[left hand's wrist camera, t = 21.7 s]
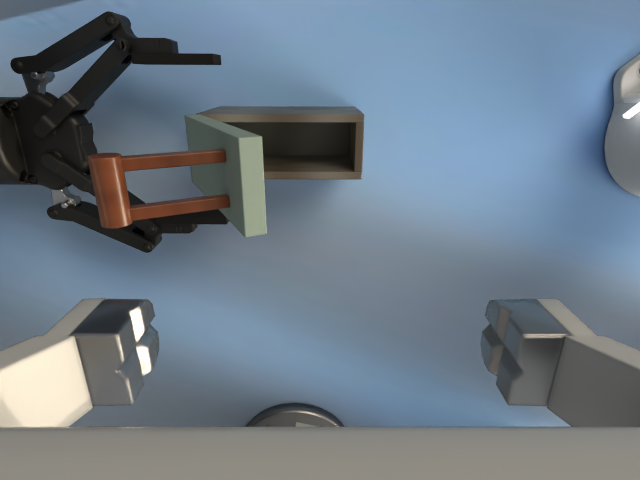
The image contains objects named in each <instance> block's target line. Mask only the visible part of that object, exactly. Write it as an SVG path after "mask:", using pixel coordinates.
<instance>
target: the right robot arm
mask: <svg viewBox="0 0 640 480" xmlns="http://www.w3.org/2000/svg"><path fill="white" fill-rule="evenodd" d="M112 40H114V42H113V43H112V44H111V46H110V47H109V48H108V49H107V50H106V51H105V52H104V53H103V54H102V55H101V57H100V58H99V59H98V60H97V61H96V62H95V63H94V64H93V65H92V66H91V68H90V69H89V70H88V71H87V72H86V73H85V74H84V75H83V76H82V77H81V78H80V80H79V81H78V82H77V83H76V84H75V85H74V86H73V87H72V88H71V89H70V91H69V92H67V93H66V94H64V95H62V96H61V97H60V98H59V99H58V98H57V97H55V96H54V95H52V94H51V93H48V92H46V85H47V84H48V83H50V82H51V81H52V80H53V78H54V77H55V74H54V73H53V72H58V71H61V70H63V69H65V68H67V67H69V66H71V65H72V64H74V63H76V62H77V61H79V60H81V59H82V58H84V57H86V56H87V55H89V54H91V53H92V52H94V51H96V50H97V49H99V48H101V47H102V46H104V45H106V44H107V43H109V42H111V41H112ZM131 63H132V64H151V65H221V56H220V55H216V54H179V53H178V44H177V42H176V41H173V40H171V39H167V38H137V37H136V36H135V35H134V33H133V31H132V29H131V23H130V20H129V19H128V18H127V17H125V16H123V15H119V14H116V13H113V12H105V13H103V14H102V15H100V16H99V17H97V18H95V19H94V20H92V21H90V22H89V23H87V24H86V25H84V26H82V27H81V28H79V29H77V30H76V31H74V32H73V33H71V34H69V35H68V36H66V37H64V38H63V39H61V40H60V41H58V42H56V43H55V44H53V45H52V46H50V47H48V48H47V49H45V50H43V51H42V52H40V53H39V54H37V55H34V56H26V57H18V58H14V59H12V60H11V68H12V69H13V71H15V72H16V73H18V74H22V76H23V79H24V82H25V85H26V88H27V91H28V94H26V95H25V96H23V97H0V184H20V185H43V186H45V187H48V188H50V189H51V193H52V201H53V206H51V207H49V208H48V210H47V214H48V215H49V217H51V218H52V219H58V220H67V221H74V222H76V223H78V224H81V225H83V226H85V227H88V228H90V229H92V230H95V231H97V232H99V233H101V234H104V235H106V236H108V237H111V238H113V239H115V240H118V241H120V242H122V243H125V244H127V245H129V246H132V247H134V248H136V249H139V250H141V251H143V252H146V253H148V252H151V251H152V250H153V249H154V248H155V247H156V246H157V245H158V244H159V243H160V242H161V240H162V237H161V235H162V233H191V232H193V231H194V230H195V229H196V228H197V224H227V223H228V222H229V220H228V219H227V218H226V217H225V216H224V215H223V213H222V212H221V211H220V210H219V209H215V210H208V211H201V212H193V213H186V214H179V215H171V216H164V217H157V218H149V219H142V220H135V221H133V222H132V224H130V225H128V226H125V227H121V228H104V227H102V226H101V222H100V217H99V212H98V208H97V206H96V205H94V204H91V203H88V202H84V201H81V198H80V197H79V196H76V195H73V194H71V193H70V192H69V191H68V188H67V187H68V186H70V185H72V184H73V185H74V186H76V187H77V188H78V189H80V190H82V191H85V192H89V193H91V194H92V195H93V196H95V193H94V188H93V183H92V178H91V173H90V169H89V164H88V159H87V157H88V156H90V155H93V154H97V149H96V147H95V145H94V142H93V128H92V123H89V122H88V120H87V119H86V118H85V117H84V115H85V114H86V113H87V112H88V111H89V110H90V109H91V108H92V107H93V106H94V102H95V101H96V100H97V99H98V98H99V97H100V96H101V95H102V94H103V93H104V91H105V90H106V89H107V88H108V87H109V86H110V85H111V84H112V83H113V82H114V81H115V80H116V79H117V78H118V77H119V76H120V74H121V73H122V72H123V71H124V70H125V69H126V68H127V67H128V66H129V65H130V64H131ZM85 174H86V175H85ZM127 191H128V190H127ZM128 197H129V202H130V206H131V205H139V204H146V203H144V202H143V201H142V200H140V199H139V198H137V197H136V196H135V195H133V194H132V193H131V192H129V191H128ZM247 427H344V425H343V424H342V423H341V422H340V421H339V420H338V419H337V418H336V417H335V416H334V415H332V414H331V413H329V412H327V411H326V410H323V409H321V408H319V407H316V406H312V405H307V404H298V403H292V404H282V405H278V406H274V407H271V408H269V409H267V410H264V411H263V412H261V413H259V414H258V415H257V416H255V417H254V418H253V419H252V420H251V421H250V423H249V424H248V425H247Z"/></svg>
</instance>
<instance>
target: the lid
mask: <svg viewBox="0 0 640 480" xmlns="http://www.w3.org/2000/svg"><path fill="white" fill-rule="evenodd" d="M185 123H186V132H187V140H188V149H189V151H185V152H171V153H158V154H144V155H131V156H121V154H118V153H100V154H93V155H90V156H88V157H87V159H88V164H89V169H90V173H91V178H92V183H93V188H94V193H95V198H96V203H97V208H98V212H99V217H100V222H101V226H102V227H104V228H121V227H125V226H128V225H130V224H132V222H133V221H135V220H142V219H149V218H157V217H164V216H171V215H179V214H186V213H193V212H201V211H208V210H215V209H219V210H220V211H221V212H222V213H223V215H224V216H225V217H226V218H227V219H228V220H229V221H230V222H231V223H232V224H233V225H234V226H235V227H236V228H237V229H238V230H239V231H240V232H241V233H242V234H243V236H244V237H252V236H258V235H263V234H267V227H266V207H265V187H264V166H263V146H262V136H259V135H256V134H254V133H251V132H248V131H245V130H242V129H240V128H237V127H234V126H231V125H228V124H226V123H223V122H220V121H217V120H214V119H212V118H209V117H206V116H203V115H200V114H198V115H185ZM180 166H191V175H192V182H193V183H194V184H195V185H196V186H197V187H198V188H199V189H200V190H201V191H202V192H203V193H204V195H205V197H196V198H188V199H180V200H172V201H164V202H155V203H147V204H139V205H131V206H130V202H129V197H128V191H127V185H126V179H125V174H124V171H135V170H146V169H157V168H168V167H180Z"/></svg>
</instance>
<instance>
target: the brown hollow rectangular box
mask: <svg viewBox="0 0 640 480" xmlns="http://www.w3.org/2000/svg"><path fill="white" fill-rule="evenodd" d="M198 114H200V115H203V116H206V117H209V118H212V119H214V120H217V121H220V122H223V123H226V124H228V125H231V126H234V127H237V128H240V129H242V130H245V131H248V132H251V133H254V134H256V135H259V136H262V146H263V166H264V179H362V160H363V134H364V114H363V113H362V112H361V111H360V110H358V109H357V108H356V107H217V108H214V109H210V110H207V111H204V112H201V113H197V114H196V115H198Z"/></svg>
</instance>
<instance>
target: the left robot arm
mask: <svg viewBox="0 0 640 480" xmlns="http://www.w3.org/2000/svg"><path fill="white" fill-rule="evenodd" d="M639 68H640V54H639V55H637V56H636V57H635V58H633V59H632V60H631V61H629V62H628V63H627V64H625V65H624V66H623V67H621V68H620V69H619V70H618V71H617V73H616V75H615V77H614V82H613V96H614V108H613V112H612V115H611V118H610V121H609V124H608V127H607V131H606V136H605V146H604V150H605V159H606V164H607V167H608V170H609V172H610V174H611V176H612V177H613V179H614V180H615V182H616V183H617V184H618V185H619V186H620V187H621V188H623V189H624V190H625V191H627V192H629V193H631V194H633V195H635V196H638V197H640V74H639ZM154 317H155V314H154V309H153V304H152V303H151V302H150V301H149V300H141V299H105V298H103V299H83V300H81V301H80V302H79V303H78V304H77V305H76V306H75V307H74V308H73V309H72V310H71V311H69V312H68V313H67V314H66V315H65V316H64V317H63V318H62V319H61V320H60V321H59V322H58V323H57V324H56V325H54V326H53V327H52V328H51V329H50V330H49V331H48V332H47V333H46V334H45V335H44V336H35V337H32V338H30V339H28V340H25V341H23V342H20V343H18V344H15V345H13V346H11V347H8V348H6V349H3V350H1V351H0V480H640V351H639V350H636V349H634V348H632V347H629V346H627V345H624V344H622V343H620V342H617V341H615V340H612V339H610V338H608V337H605V336H596V335H595V334H594V333H593V332H592V331H591V330H590V329H589V328H588V327H587V326H586V325H585V324H583V323H582V322H581V321H580V320H579V319H578V318H577V317H576V316H575V315H574V314H573V313H572V312H571V311H570V310H568V309H567V308H566V307H565V306H564V305H563V304H562V303H561V302H560V301H559V300H556V299H553V298H549V299H511V300H490V301H489V303H488V305H487V308H486V314H485V317H486V318H487V320H488V321H489V323H490V324H489V325H488V327H487V328H486V329H485V330H484V331H483V332H482V338H481V352H482V357H483V361H484V364H485V365H486V367H487V369H488V371H490V372H491V373H493V374H494V375H496V376H497V381H496V385H497V387H498V388H499V390H500V392H501V394H502V395H503V397H504V399H505V400H506V402H507V404H508V405H526V406H547V408H548V409H549V410H551V411H552V412H553V413H554V414H556V415H557V416H558V417H560V418H561V419H562V420H564V421H565V422H566V423H568V424H569V425H570V426H572V427H68V426H70V425H71V424H72V423H74V422H75V421H76V420H78V419H79V418H80V417H82V416H83V415H84V414H86V413H87V412H88V411H90V410H91V409H92V408H93V406H114V405H132V404H133V402H134V400H135V399H136V397H137V395H138V394H139V392H140V390H141V388H142V387H143V385H144V381H143V376H144V375H146V374H147V373H149V372H150V371H152V369H153V367H154V365H155V363H156V361H157V357H158V352H159V337H158V332H157V331H156V330H155V329H154V328H153V327H152V325H151V324H150V323H151V321H152V320H153V318H154Z"/></svg>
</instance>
